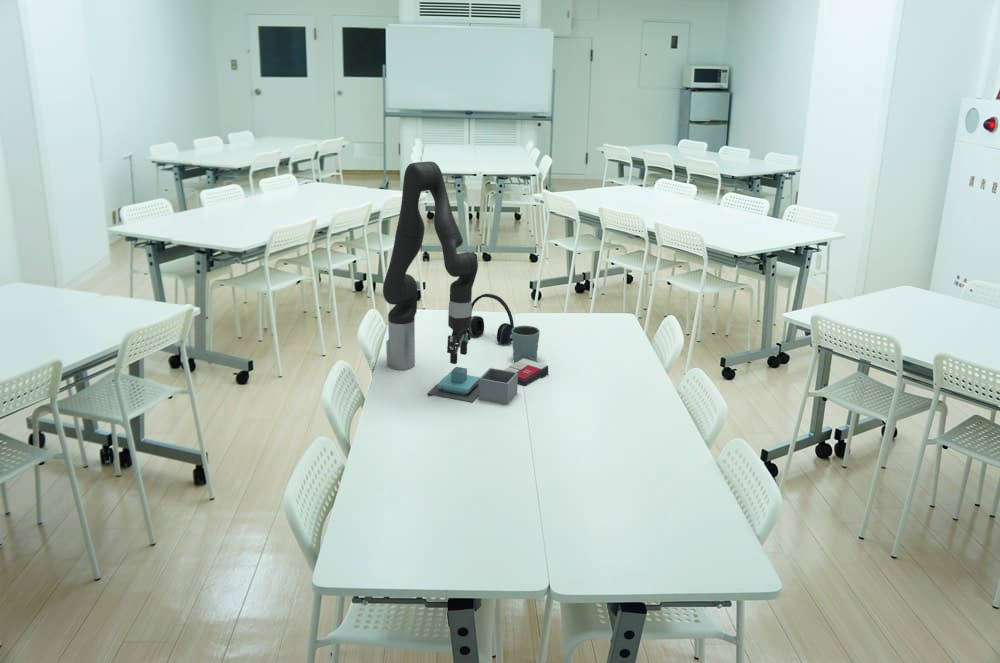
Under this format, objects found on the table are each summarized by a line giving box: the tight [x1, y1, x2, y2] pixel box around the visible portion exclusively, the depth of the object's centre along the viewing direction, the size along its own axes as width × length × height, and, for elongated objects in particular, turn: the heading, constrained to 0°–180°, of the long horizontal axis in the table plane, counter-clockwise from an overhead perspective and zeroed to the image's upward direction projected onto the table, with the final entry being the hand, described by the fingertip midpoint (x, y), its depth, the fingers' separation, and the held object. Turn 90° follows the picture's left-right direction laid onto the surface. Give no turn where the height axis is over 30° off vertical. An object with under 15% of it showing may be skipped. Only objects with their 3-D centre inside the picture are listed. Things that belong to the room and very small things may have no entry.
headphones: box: [471, 293, 515, 345], centre depth 327 cm, size 20×7×18 cm, turn 57°
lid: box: [436, 366, 481, 395], centre depth 283 cm, size 11×11×7 cm
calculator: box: [503, 358, 549, 387], centre depth 297 cm, size 11×4×15 cm
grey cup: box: [511, 325, 541, 363], centre depth 309 cm, size 10×10×12 cm
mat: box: [426, 374, 479, 404], centre depth 285 cm, size 16×16×1 cm
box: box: [478, 367, 519, 406], centre depth 279 cm, size 10×10×8 cm
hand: (458, 358), depth 281 cm, fingers open, 8 cm apart
